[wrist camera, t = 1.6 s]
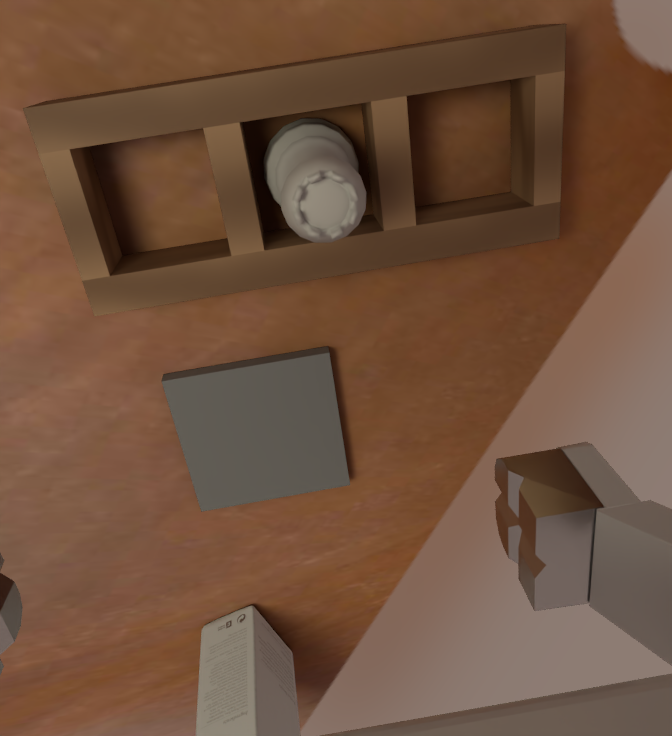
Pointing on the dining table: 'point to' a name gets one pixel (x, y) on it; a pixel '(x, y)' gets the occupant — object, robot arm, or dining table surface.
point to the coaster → (259, 428)
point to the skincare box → (245, 679)
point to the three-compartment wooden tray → (296, 95)
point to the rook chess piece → (315, 180)
